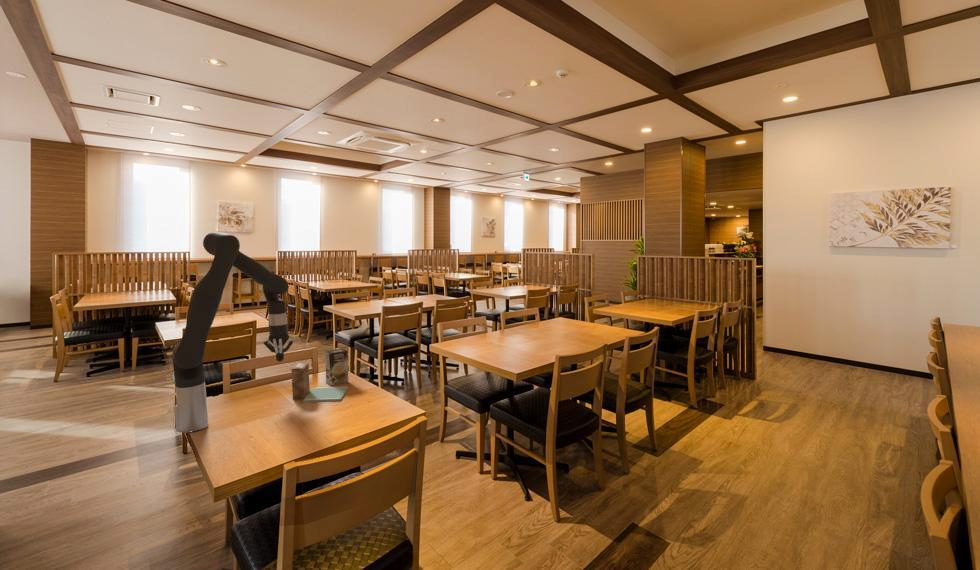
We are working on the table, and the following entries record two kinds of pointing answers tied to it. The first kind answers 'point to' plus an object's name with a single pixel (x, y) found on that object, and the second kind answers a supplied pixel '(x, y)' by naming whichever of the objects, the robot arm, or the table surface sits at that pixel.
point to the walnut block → (300, 380)
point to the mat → (325, 394)
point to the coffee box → (336, 366)
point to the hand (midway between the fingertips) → (280, 361)
